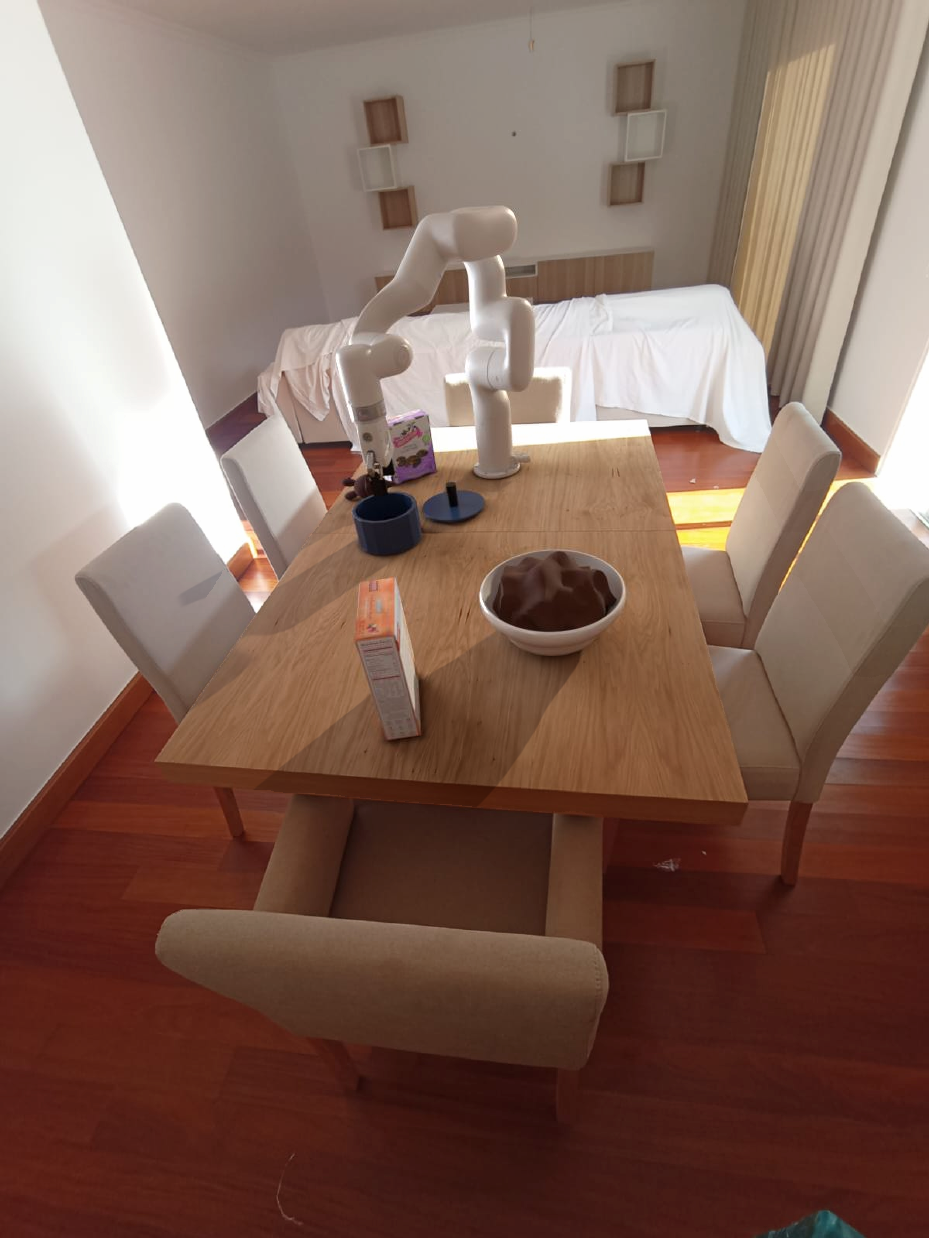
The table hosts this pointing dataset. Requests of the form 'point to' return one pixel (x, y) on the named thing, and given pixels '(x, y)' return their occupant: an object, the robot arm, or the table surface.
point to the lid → (453, 505)
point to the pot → (387, 523)
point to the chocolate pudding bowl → (552, 600)
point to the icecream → (361, 486)
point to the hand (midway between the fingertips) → (384, 485)
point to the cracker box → (388, 658)
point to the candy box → (411, 446)
